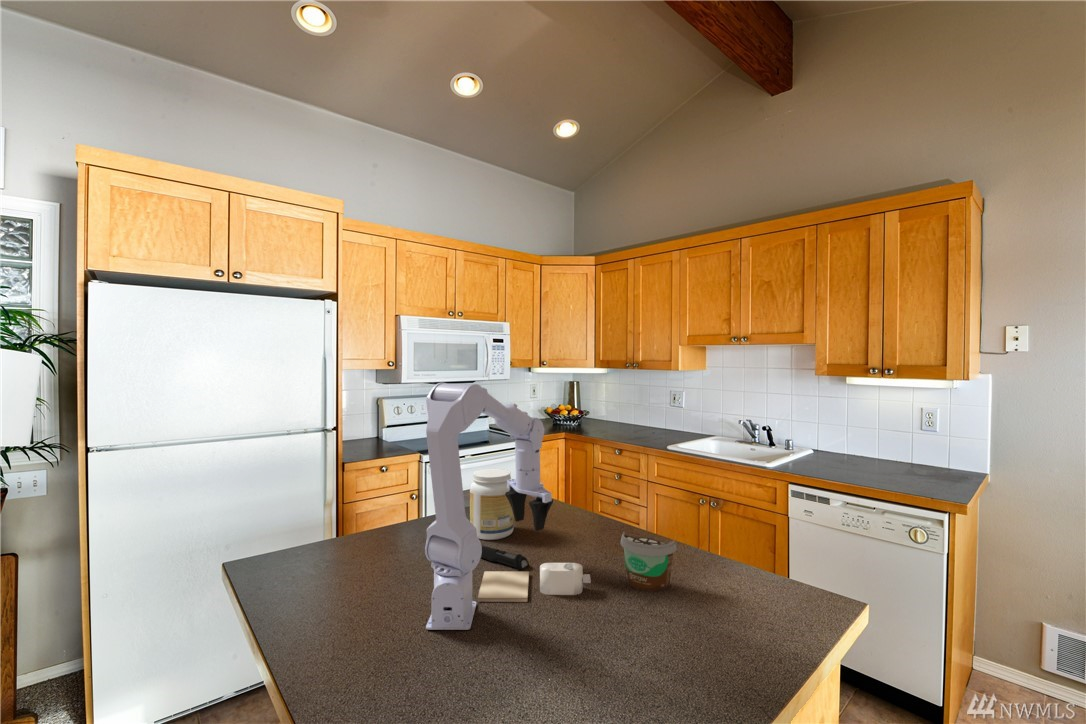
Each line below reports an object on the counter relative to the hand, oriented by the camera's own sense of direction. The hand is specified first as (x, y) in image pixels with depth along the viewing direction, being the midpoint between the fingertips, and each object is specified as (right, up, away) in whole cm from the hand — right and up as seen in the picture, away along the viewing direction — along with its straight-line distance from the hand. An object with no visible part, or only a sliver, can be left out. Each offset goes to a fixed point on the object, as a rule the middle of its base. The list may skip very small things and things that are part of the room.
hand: (529, 524), depth 115 cm
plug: (+7, -10, -12) cm, 17 cm away
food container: (+25, -10, -9) cm, 29 cm away
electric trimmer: (-7, -10, +2) cm, 13 cm away
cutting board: (-5, -10, -11) cm, 15 cm away
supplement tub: (-11, -10, +21) cm, 26 cm away
